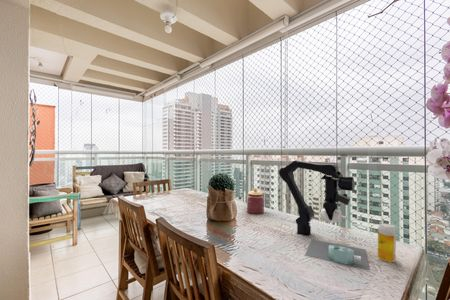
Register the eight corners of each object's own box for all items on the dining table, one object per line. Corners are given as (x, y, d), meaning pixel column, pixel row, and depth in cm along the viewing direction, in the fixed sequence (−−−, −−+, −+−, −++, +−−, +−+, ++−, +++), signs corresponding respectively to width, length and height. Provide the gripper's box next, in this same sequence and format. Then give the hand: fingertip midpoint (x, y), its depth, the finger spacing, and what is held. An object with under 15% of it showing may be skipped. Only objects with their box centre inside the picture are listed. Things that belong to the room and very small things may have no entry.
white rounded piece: (320, 220, 113) (320, 210, 113) (321, 218, 117) (321, 208, 117) (346, 224, 108) (346, 214, 108) (346, 221, 112) (346, 211, 111)
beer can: (378, 255, 98) (378, 221, 98) (395, 259, 94) (395, 224, 94) (377, 260, 93) (377, 225, 93) (395, 265, 89) (395, 228, 89)
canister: (243, 210, 168) (243, 187, 168) (257, 208, 174) (257, 186, 174) (252, 215, 156) (252, 190, 156) (267, 213, 162) (267, 189, 162)
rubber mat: (304, 256, 97) (304, 255, 97) (311, 240, 114) (311, 239, 114) (369, 271, 85) (369, 270, 85) (366, 250, 102) (366, 249, 102)
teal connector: (328, 259, 93) (328, 248, 93) (328, 255, 97) (329, 244, 97) (361, 267, 87) (361, 254, 87) (360, 262, 91) (360, 250, 91)
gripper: (349, 193, 101) (349, 227, 101) (348, 187, 117) (348, 216, 117) (322, 191, 106) (322, 223, 106) (326, 185, 123) (325, 213, 123)
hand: (331, 218), depth 113 cm, fingers closed on white rounded piece, 4 cm apart
